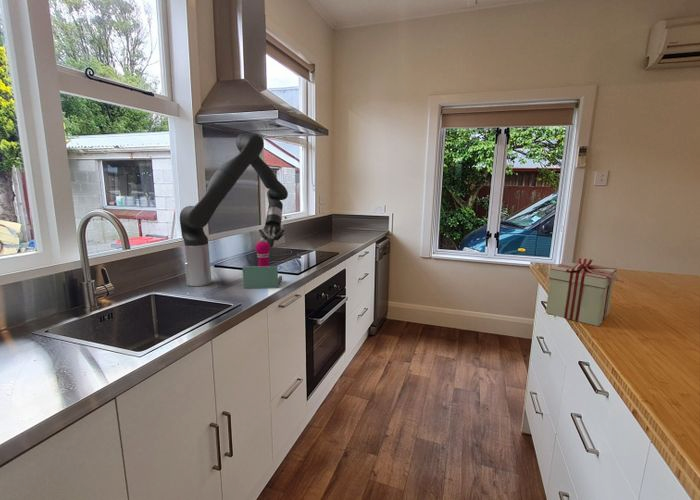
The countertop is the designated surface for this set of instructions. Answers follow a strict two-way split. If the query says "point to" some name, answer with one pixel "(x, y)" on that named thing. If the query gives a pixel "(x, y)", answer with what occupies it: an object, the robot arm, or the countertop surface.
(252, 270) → the green rectangular block
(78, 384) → the countertop surface
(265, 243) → the pepper mill
